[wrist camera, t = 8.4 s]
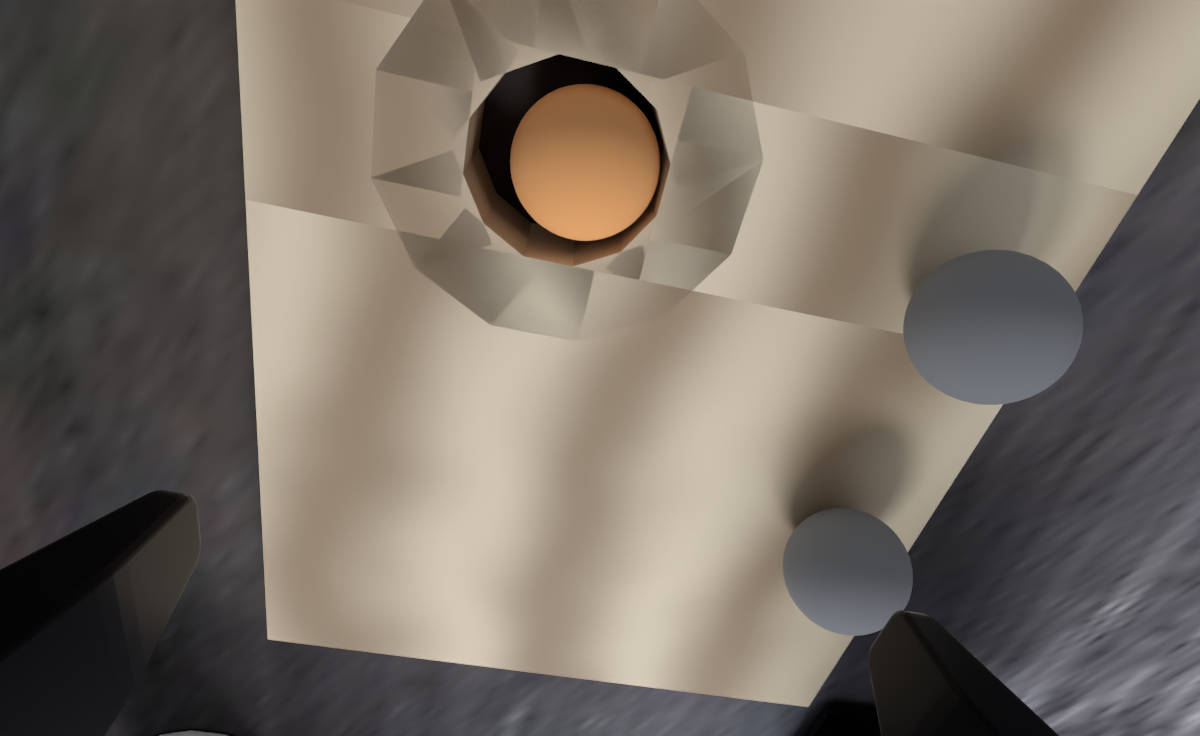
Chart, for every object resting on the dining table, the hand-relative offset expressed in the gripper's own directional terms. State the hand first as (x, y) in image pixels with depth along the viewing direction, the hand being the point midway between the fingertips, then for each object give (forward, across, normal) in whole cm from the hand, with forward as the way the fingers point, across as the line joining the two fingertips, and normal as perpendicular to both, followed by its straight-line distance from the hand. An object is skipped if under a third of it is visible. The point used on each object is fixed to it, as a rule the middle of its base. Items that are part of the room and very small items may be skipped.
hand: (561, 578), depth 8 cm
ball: (+10, 0, -3) cm, 10 cm away
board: (+12, -2, +3) cm, 12 cm away
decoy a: (+8, -9, +6) cm, 13 cm away
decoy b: (+7, -9, -2) cm, 12 cm away
